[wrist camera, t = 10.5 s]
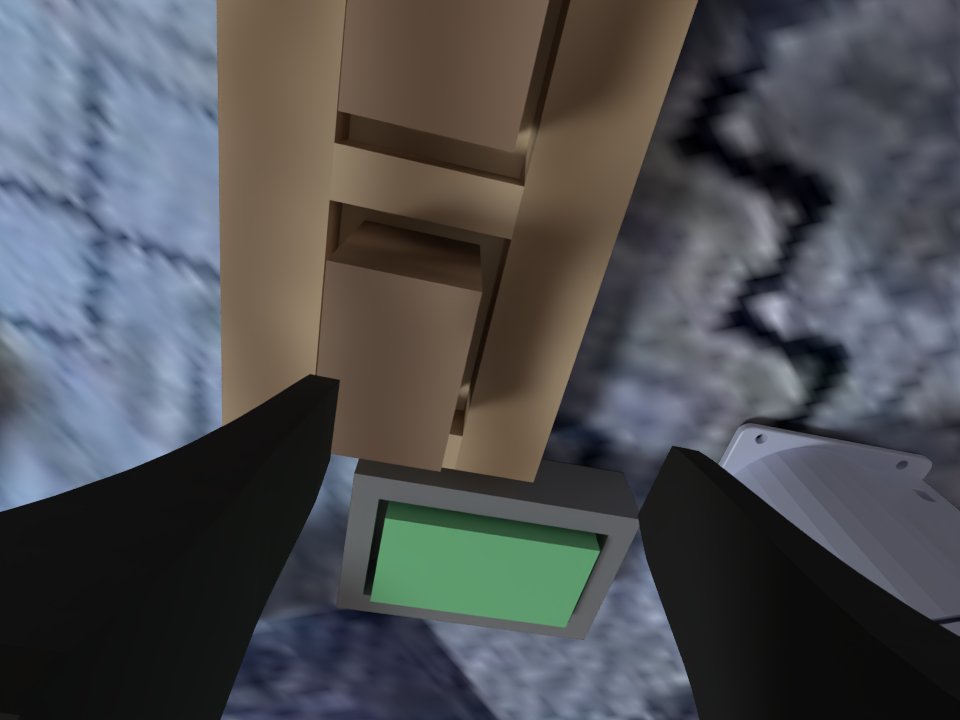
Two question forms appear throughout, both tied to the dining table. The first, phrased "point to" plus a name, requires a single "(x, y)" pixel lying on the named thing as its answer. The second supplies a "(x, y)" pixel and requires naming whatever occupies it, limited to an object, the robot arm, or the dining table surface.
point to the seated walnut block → (397, 340)
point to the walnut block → (442, 65)
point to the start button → (481, 565)
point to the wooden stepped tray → (433, 203)
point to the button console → (548, 501)
